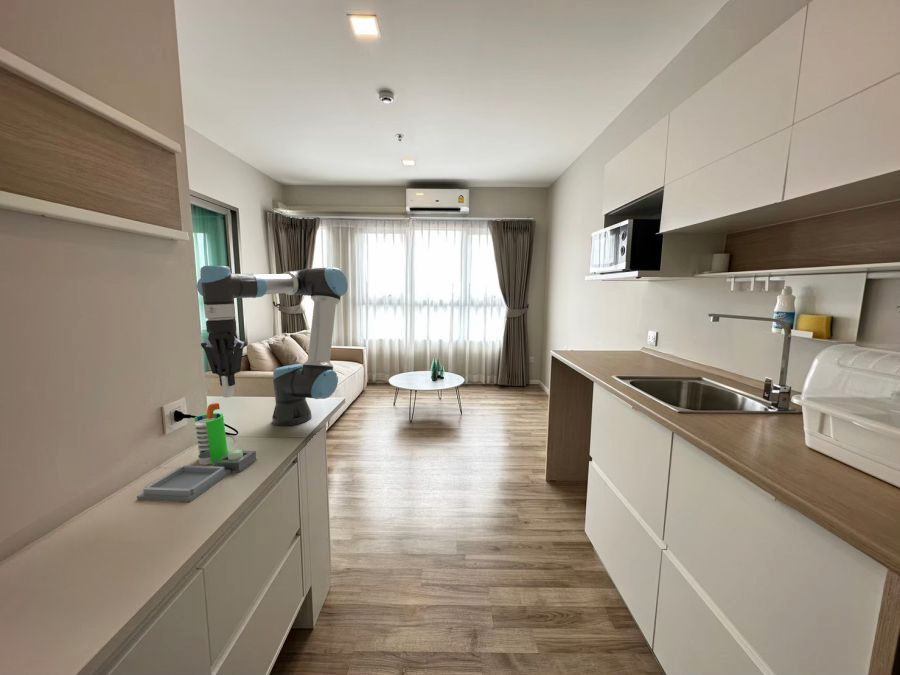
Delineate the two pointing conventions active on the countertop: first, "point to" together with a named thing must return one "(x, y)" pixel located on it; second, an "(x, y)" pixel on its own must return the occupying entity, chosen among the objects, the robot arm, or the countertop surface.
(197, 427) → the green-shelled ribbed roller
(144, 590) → the countertop surface
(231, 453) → the button
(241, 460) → the dark grey square holder
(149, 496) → the grey square tray
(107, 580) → the countertop surface
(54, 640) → the countertop surface
